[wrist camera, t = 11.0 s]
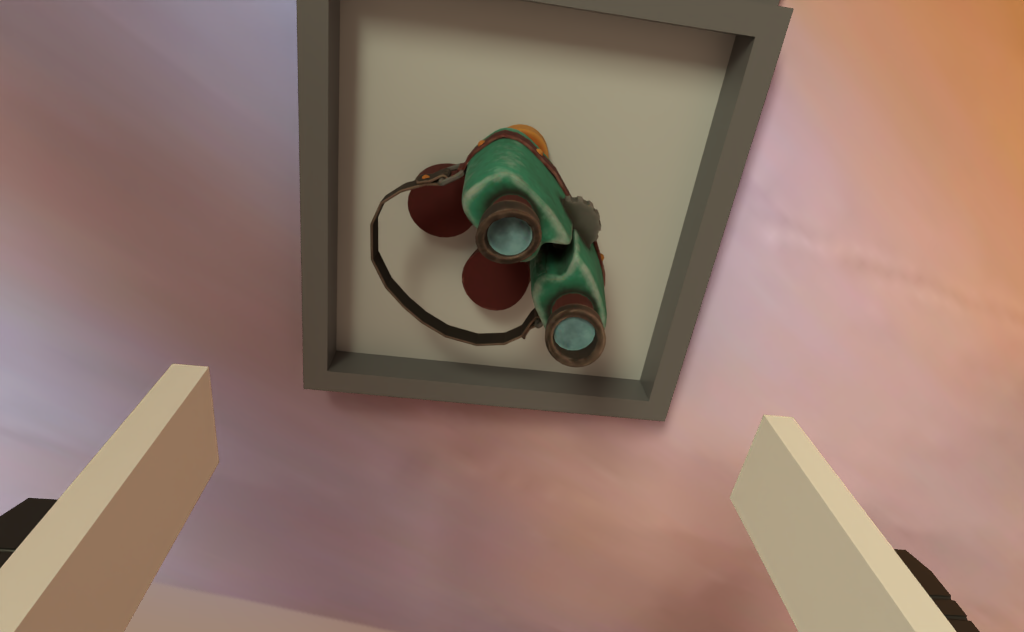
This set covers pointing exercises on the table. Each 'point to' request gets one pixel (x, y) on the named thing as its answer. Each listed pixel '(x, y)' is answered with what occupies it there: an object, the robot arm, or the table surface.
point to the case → (571, 148)
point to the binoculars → (513, 243)
